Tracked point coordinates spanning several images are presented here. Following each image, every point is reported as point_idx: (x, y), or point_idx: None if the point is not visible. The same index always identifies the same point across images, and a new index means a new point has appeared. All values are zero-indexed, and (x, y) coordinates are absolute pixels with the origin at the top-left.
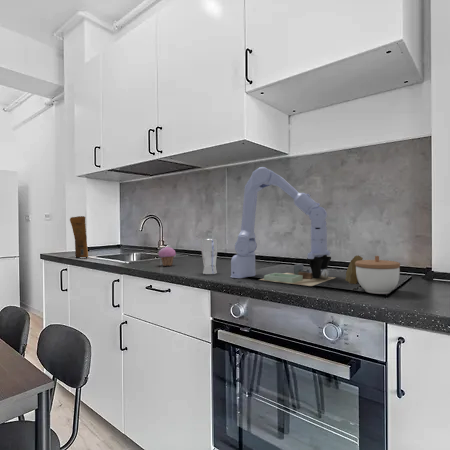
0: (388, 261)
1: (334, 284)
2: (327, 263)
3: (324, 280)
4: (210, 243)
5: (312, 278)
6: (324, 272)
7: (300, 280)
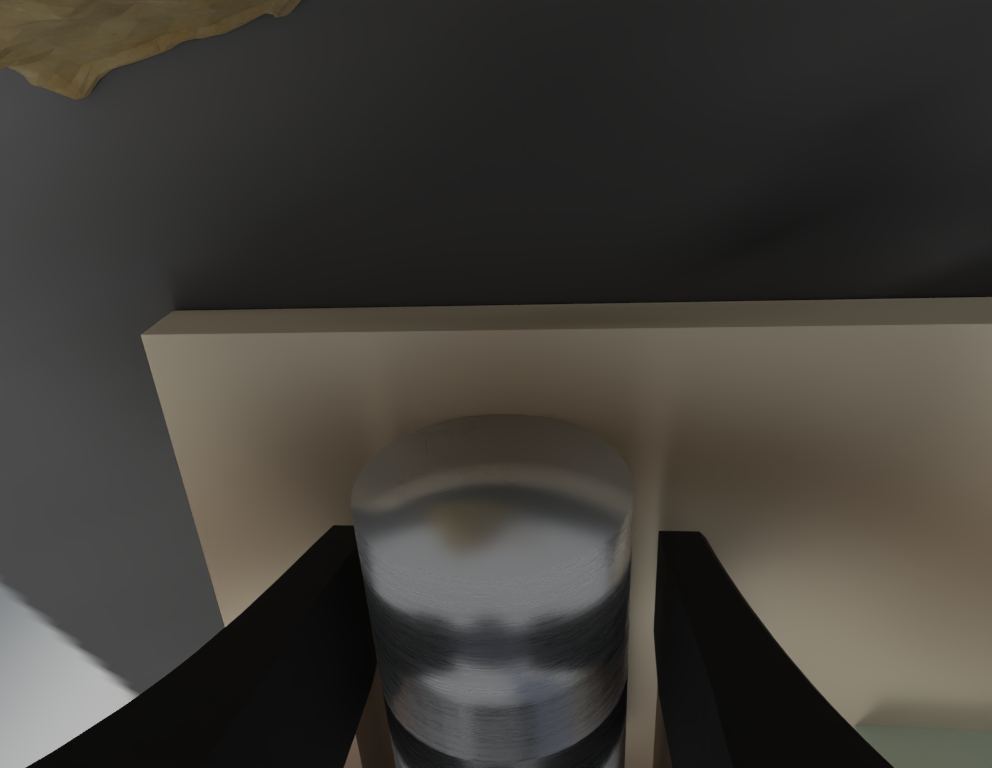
0: None
1: (700, 108)
2: (180, 752)
3: (702, 382)
4: None
5: None
6: (618, 524)
7: (955, 729)
